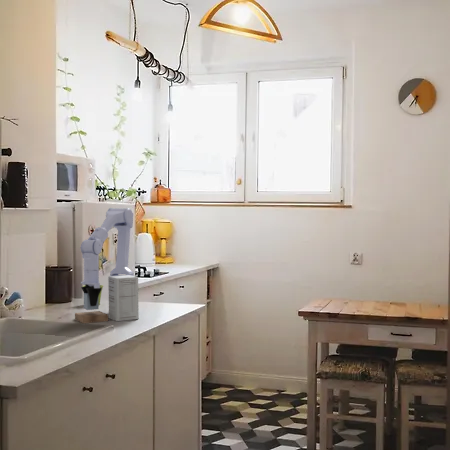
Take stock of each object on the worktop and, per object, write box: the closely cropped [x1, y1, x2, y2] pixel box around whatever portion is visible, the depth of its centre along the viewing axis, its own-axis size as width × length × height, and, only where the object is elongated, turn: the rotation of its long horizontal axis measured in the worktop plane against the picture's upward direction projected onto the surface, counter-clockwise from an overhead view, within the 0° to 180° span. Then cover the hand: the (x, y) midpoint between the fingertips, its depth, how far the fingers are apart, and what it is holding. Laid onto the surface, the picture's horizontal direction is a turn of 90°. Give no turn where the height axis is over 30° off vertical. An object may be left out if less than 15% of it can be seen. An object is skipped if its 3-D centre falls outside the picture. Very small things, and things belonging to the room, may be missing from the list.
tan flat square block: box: [74, 310, 109, 324], centre depth 244 cm, size 10×10×3 cm
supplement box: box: [107, 274, 140, 322], centre depth 248 cm, size 10×9×17 cm
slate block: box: [83, 292, 100, 311], centre depth 244 cm, size 4×4×6 cm
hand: (91, 305), depth 244 cm, fingers closed on slate block, 4 cm apart
